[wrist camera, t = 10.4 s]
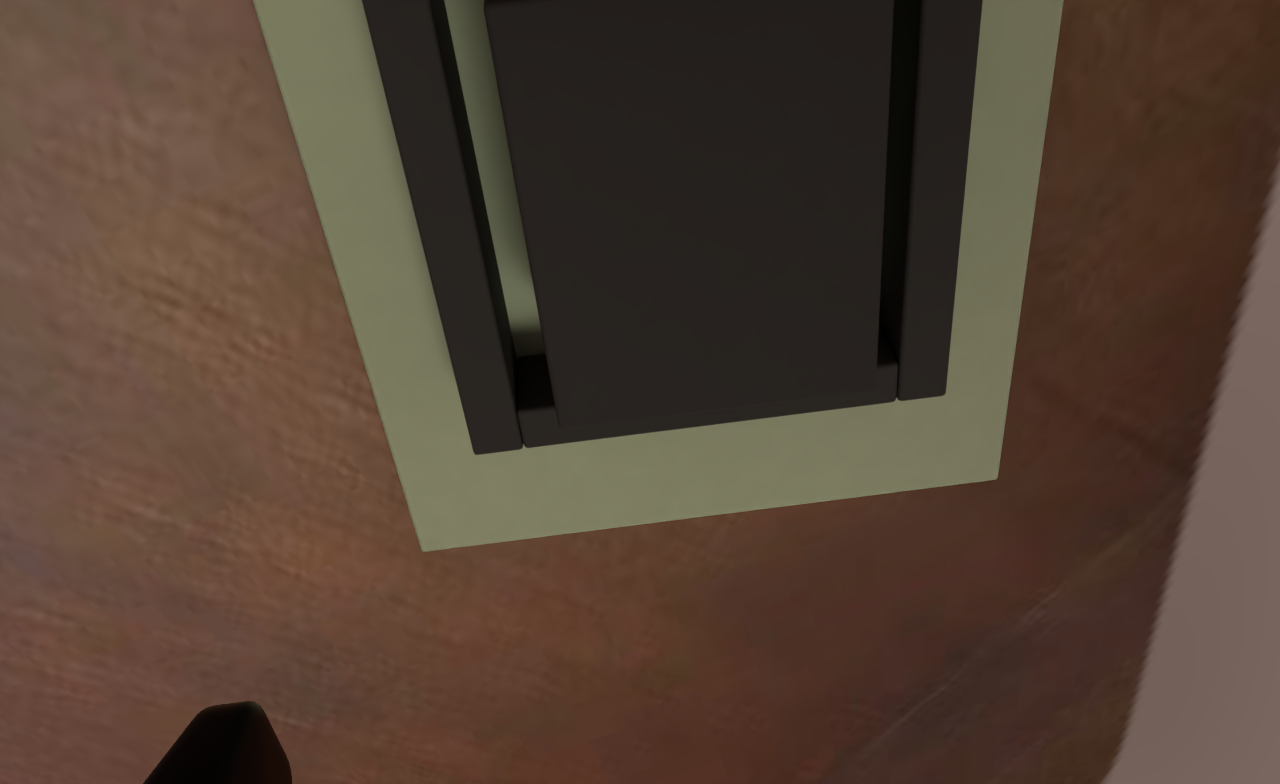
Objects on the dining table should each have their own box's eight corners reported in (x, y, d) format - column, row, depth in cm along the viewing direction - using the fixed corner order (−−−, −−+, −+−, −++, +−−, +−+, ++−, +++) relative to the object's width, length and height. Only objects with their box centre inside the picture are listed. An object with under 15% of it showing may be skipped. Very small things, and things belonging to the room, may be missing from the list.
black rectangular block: (830, 280, 18) (877, 392, 16) (554, 314, 18) (558, 431, 16) (836, -115, 14) (898, -47, 12) (489, -73, 14) (482, 4, 12)
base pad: (978, 440, 22) (1026, 536, 20) (425, 509, 22) (415, 614, 20) (1111, -668, 12) (1236, -712, 10) (114, -548, 12) (26, -567, 10)
